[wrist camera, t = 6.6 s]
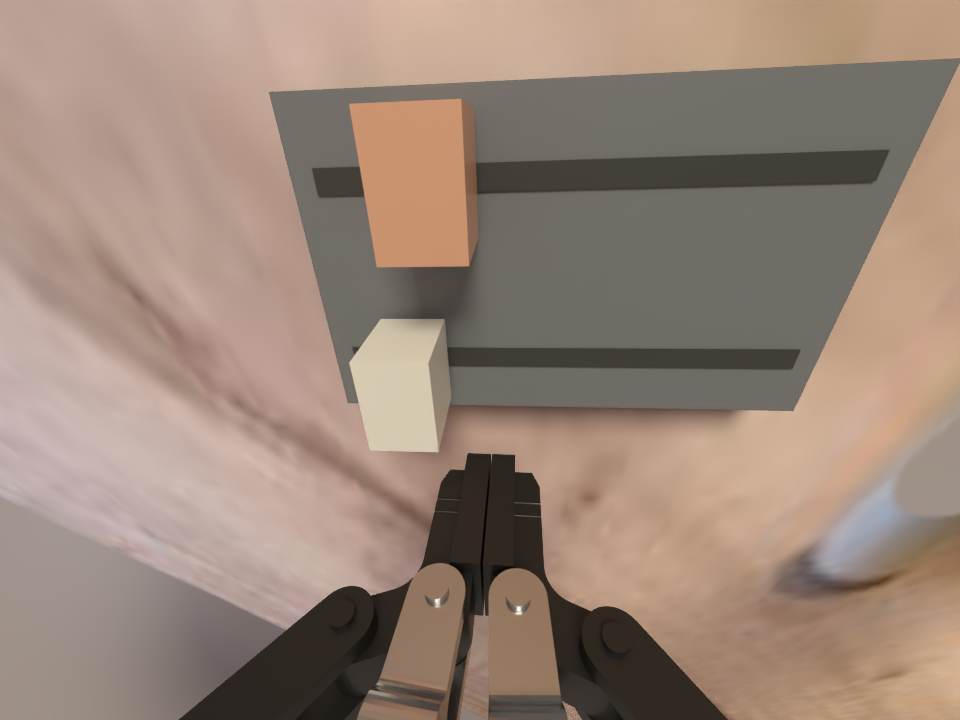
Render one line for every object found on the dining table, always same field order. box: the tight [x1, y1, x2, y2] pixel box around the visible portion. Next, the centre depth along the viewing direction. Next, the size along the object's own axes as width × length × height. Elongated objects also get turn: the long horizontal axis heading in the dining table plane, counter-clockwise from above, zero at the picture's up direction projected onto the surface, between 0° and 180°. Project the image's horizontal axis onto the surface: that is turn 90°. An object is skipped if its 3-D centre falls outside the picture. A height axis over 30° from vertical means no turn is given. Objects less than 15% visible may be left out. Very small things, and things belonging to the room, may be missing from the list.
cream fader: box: [349, 319, 451, 452], centre depth 17 cm, size 3×4×4 cm
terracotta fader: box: [349, 99, 479, 267], centre depth 13 cm, size 3×4×4 cm
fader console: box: [269, 58, 960, 411], centre depth 18 cm, size 23×14×3 cm, turn 92°
